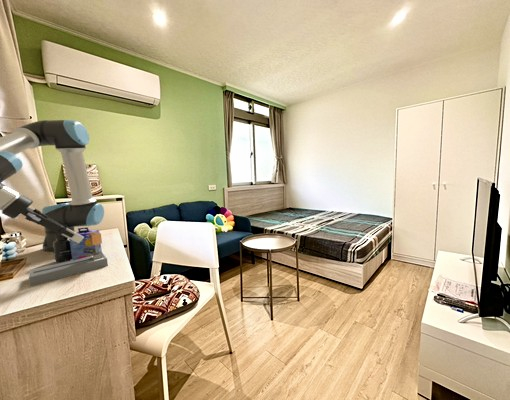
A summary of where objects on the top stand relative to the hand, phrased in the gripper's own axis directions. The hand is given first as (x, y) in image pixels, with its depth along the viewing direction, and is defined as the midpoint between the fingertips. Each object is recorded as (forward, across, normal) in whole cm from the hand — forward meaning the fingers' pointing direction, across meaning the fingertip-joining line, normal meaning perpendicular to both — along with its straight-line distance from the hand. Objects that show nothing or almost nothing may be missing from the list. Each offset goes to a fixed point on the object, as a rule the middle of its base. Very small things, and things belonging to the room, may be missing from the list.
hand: (81, 240), depth 85 cm
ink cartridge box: (+10, -13, -7) cm, 17 cm away
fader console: (+5, 0, -11) cm, 12 cm away
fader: (+9, 0, -2) cm, 9 cm away
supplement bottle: (+5, -19, -12) cm, 23 cm away
